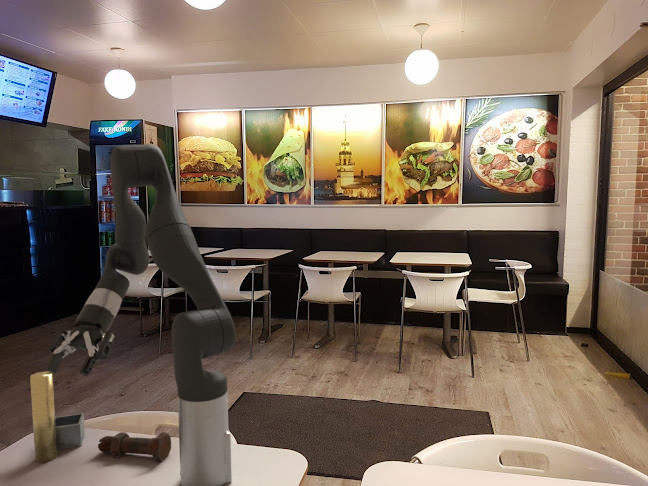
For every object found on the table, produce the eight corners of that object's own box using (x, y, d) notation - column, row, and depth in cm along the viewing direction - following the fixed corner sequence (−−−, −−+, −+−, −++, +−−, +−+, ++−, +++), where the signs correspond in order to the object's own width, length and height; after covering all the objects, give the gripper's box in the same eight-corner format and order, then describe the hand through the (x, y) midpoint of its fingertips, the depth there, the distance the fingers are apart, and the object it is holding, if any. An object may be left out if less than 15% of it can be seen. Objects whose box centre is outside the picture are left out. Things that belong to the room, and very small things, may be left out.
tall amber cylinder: (58, 451, 104) (54, 370, 103) (55, 460, 101) (50, 376, 99) (37, 455, 103) (32, 372, 102) (33, 464, 99) (28, 379, 98)
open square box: (84, 433, 112) (83, 413, 112) (81, 445, 107) (80, 424, 106) (55, 438, 110) (54, 417, 110) (50, 450, 105) (49, 428, 104)
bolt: (105, 458, 105) (168, 462, 102) (91, 457, 101) (156, 462, 98) (111, 430, 107) (173, 433, 105) (98, 428, 103) (162, 431, 100)
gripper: (66, 301, 116) (29, 363, 106) (117, 304, 113) (85, 367, 103) (83, 318, 122) (50, 378, 112) (132, 320, 119) (103, 383, 108)
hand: (66, 373), depth 107 cm, fingers open, 8 cm apart
